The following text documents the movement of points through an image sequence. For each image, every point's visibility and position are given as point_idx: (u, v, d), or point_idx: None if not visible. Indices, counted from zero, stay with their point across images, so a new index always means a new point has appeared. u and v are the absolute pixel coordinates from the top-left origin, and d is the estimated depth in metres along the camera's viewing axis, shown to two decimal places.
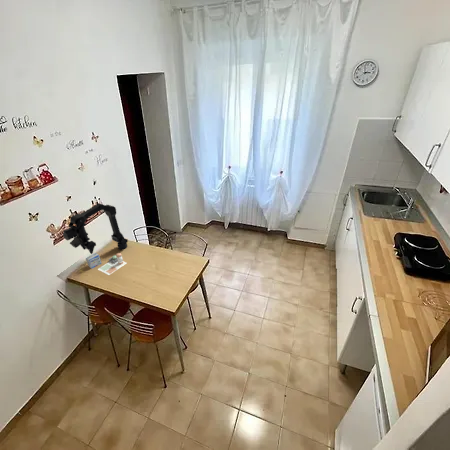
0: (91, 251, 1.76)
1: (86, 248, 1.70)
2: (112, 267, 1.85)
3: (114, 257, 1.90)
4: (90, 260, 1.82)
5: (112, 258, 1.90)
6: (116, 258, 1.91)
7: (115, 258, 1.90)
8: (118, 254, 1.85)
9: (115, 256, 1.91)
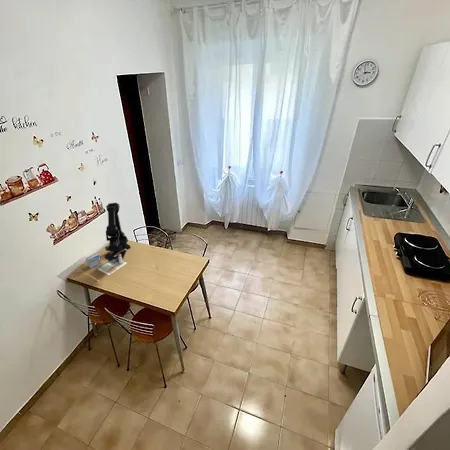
0: (116, 260, 1.85)
1: None
2: (112, 267, 1.85)
3: None
4: (90, 260, 1.82)
5: None
6: None
7: None
8: (118, 254, 1.85)
9: None
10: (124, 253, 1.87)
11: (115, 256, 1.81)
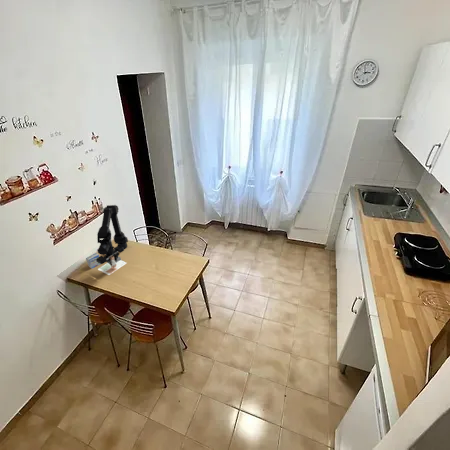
0: (109, 263, 1.79)
1: None
2: None
3: None
4: (90, 260, 1.82)
5: None
6: None
7: None
8: (111, 257, 1.79)
9: None
10: (117, 256, 1.80)
11: (107, 259, 1.75)
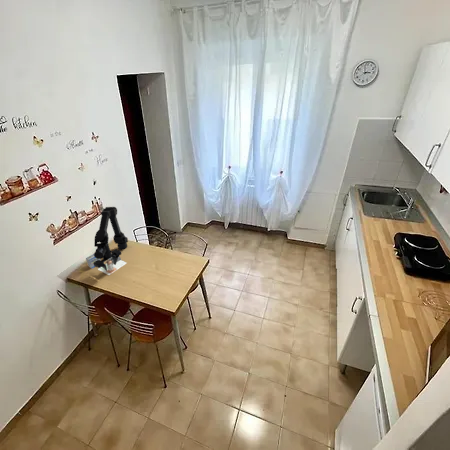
0: (104, 268, 1.77)
1: None
2: None
3: None
4: (90, 260, 1.82)
5: (112, 258, 1.90)
6: None
7: None
8: (108, 261, 1.78)
9: None
10: (117, 258, 1.81)
11: None
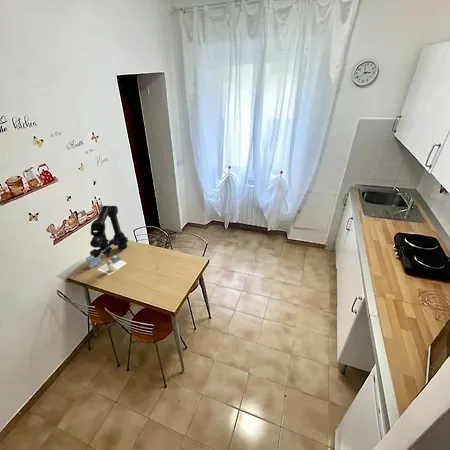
0: (105, 255, 1.75)
1: None
2: None
3: (114, 257, 1.90)
4: (90, 260, 1.82)
5: (112, 258, 1.90)
6: (116, 258, 1.91)
7: (115, 258, 1.90)
8: (108, 261, 1.78)
9: (115, 256, 1.91)
10: (109, 250, 1.74)
11: (104, 251, 1.71)
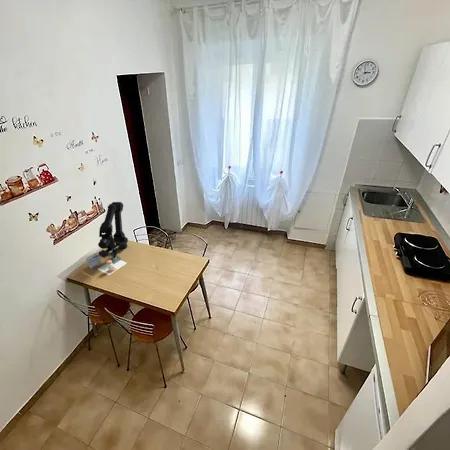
0: None
1: None
2: None
3: (114, 258, 1.90)
4: (90, 260, 1.82)
5: None
6: None
7: (115, 259, 1.91)
8: (108, 261, 1.78)
9: (115, 257, 1.92)
10: (116, 251, 1.88)
11: (111, 251, 1.85)
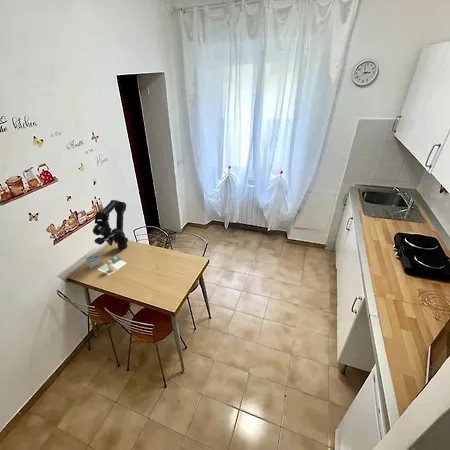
0: (109, 243, 1.87)
1: None
2: None
3: (114, 258, 1.90)
4: (90, 260, 1.82)
5: None
6: None
7: (115, 259, 1.91)
8: (108, 261, 1.78)
9: (115, 257, 1.92)
10: (113, 239, 1.86)
11: (107, 239, 1.83)
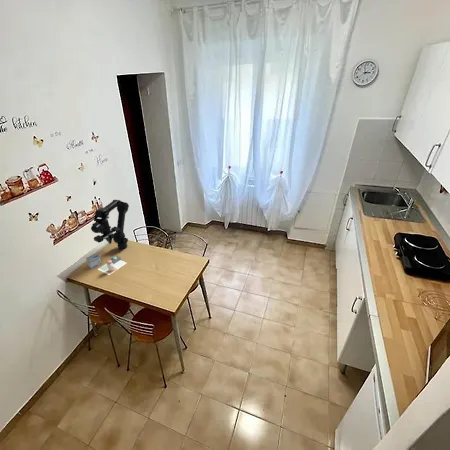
0: (108, 241, 1.88)
1: None
2: None
3: (114, 258, 1.90)
4: (90, 260, 1.82)
5: None
6: None
7: (115, 259, 1.91)
8: (108, 261, 1.78)
9: (115, 257, 1.92)
10: (112, 237, 1.87)
11: (107, 237, 1.84)
